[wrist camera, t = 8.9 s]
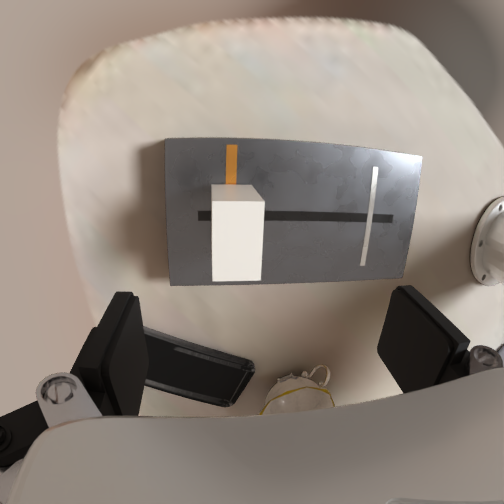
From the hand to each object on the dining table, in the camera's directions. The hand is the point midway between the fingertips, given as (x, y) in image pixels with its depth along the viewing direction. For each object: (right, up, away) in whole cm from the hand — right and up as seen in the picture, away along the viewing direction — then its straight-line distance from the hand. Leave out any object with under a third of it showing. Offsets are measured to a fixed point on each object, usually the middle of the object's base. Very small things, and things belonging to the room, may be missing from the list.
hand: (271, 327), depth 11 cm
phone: (-8, -10, +23) cm, 26 cm away
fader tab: (-2, +5, +13) cm, 15 cm away
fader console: (+3, +7, +17) cm, 19 cm away
